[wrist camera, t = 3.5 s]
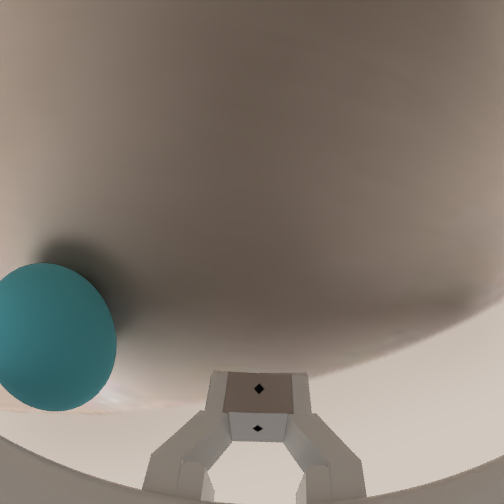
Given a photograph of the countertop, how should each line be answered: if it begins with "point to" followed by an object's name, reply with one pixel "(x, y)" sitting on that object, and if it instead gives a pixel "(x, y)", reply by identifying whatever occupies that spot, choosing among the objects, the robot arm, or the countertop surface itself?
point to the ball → (54, 337)
